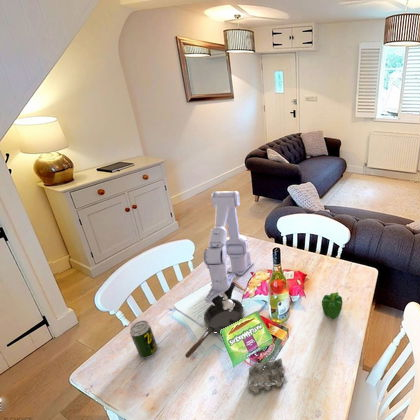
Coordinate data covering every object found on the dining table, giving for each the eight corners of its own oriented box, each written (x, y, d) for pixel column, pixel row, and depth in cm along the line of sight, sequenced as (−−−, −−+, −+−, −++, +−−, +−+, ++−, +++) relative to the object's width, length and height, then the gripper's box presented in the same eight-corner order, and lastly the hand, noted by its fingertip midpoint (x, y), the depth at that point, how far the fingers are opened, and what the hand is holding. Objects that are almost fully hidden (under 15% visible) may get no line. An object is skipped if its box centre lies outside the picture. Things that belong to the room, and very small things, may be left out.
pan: (221, 301, 112) (220, 294, 111) (251, 310, 108) (250, 304, 107) (196, 327, 100) (195, 321, 99) (228, 339, 96) (227, 332, 95)
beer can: (137, 360, 88) (126, 335, 83) (142, 346, 93) (133, 321, 88) (155, 357, 90) (145, 332, 84) (160, 343, 94) (151, 318, 89)
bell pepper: (326, 324, 104) (327, 305, 99) (318, 309, 110) (319, 290, 106) (345, 318, 106) (347, 299, 102) (337, 303, 113) (338, 285, 109)
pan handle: (210, 328, 98) (209, 325, 97) (214, 330, 98) (213, 326, 97) (184, 357, 88) (183, 354, 87) (188, 359, 87) (187, 356, 87)
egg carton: (249, 395, 80) (247, 387, 78) (249, 371, 86) (248, 363, 85) (285, 387, 82) (284, 379, 80) (282, 364, 89) (282, 356, 87)
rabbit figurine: (226, 316, 100) (209, 303, 100) (228, 316, 103) (212, 303, 104) (237, 302, 102) (220, 289, 102) (239, 302, 105) (222, 290, 106)
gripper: (223, 262, 104) (227, 288, 110) (195, 286, 92) (202, 315, 98) (238, 266, 102) (242, 293, 108) (212, 291, 90) (218, 320, 96)
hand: (224, 304), depth 103 cm, fingers closed on rabbit figurine, 4 cm apart
